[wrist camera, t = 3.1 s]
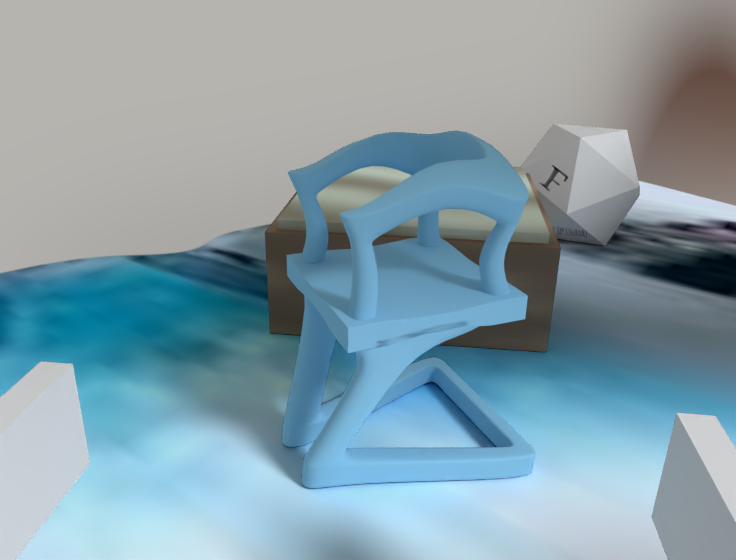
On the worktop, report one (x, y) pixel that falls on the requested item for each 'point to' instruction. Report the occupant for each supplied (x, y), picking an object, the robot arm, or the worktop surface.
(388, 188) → the base block
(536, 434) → the worktop surface
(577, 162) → the die
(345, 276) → the chair
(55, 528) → the worktop surface
